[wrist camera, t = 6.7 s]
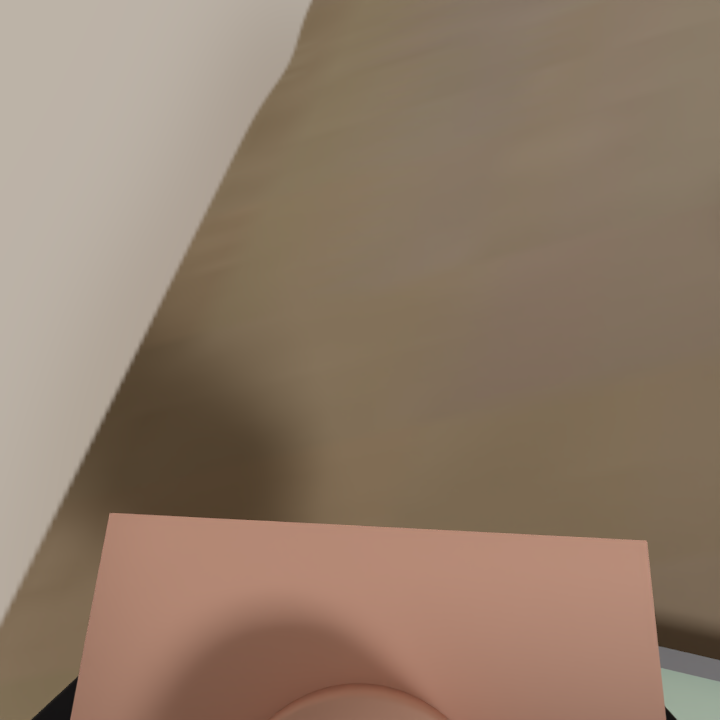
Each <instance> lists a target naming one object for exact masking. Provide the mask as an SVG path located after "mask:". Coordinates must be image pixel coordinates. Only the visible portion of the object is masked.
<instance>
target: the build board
mask: <svg viewBox="0 0 720 720" xmlns="http://www.w3.org/2000/svg"><path fill="white" fill-rule="evenodd" d="M658 648H659V657H660V666H661V676H662V685H663V694H664V704H665V707H666V708H667V709H668V710H669V711H670V712H671V713H672V714H673V716H674V717H675V718H676V719H677V720H720V660H717V659H712V658H708V657H704V656H699V655H695V654H691V653H686V652H682V651H678V650H673V649H669V648H665V647H661V646H658Z"/></svg>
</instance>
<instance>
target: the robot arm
mask: <svg viewBox="0 0 720 720" xmlns="http://www.w3.org/2000/svg"><path fill="white" fill-rule="evenodd" d="M77 681H78V677H77V678H76V679H75V680H74V681H72V682H71V683H70V684H69V685H68V686H67V687H66V688H65V689H64V690H63V691H62V692H61V693H60V694H58V695H57V696H56V697H55V698H54V699H53V700H52V701H51V702H50V703H49V704H48V705H47V706H46V707H44V708H43V709H42V710H41V711H40V712H39V713H38V714H37V715H36V716H35V717H34V718H33V719H32V720H70V718H71V713H72V708H73V702H74V697H75V692H76V687H77ZM665 713H666V720H677V719H676V718H675V717H674V716H673V714H672V713H671V712H670V711H669V710H668V709H667V708H666V707H665Z"/></svg>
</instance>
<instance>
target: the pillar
mask: <svg viewBox="0 0 720 720" xmlns="http://www.w3.org/2000/svg"><path fill="white" fill-rule="evenodd" d="M70 720H666V713H665V704H664V694H663V685H662V676H661V666H660V657H659V648H658V639H657V629H656V620H655V611H654V602H653V592H652V583H651V574H650V564H649V555H648V546H647V541H643V540H624V539H604V538H585V537H566V536H546V535H527V534H508V533H488V532H469V531H450V530H430V529H411V528H392V527H372V526H353V525H334V524H314V523H295V522H276V521H256V520H237V519H218V518H199V517H179V516H160V515H141V514H121V513H110V514H109V519H108V525H107V530H106V535H105V540H104V545H103V551H102V556H101V561H100V566H99V572H98V577H97V582H96V587H95V593H94V598H93V603H92V608H91V613H90V619H89V624H88V629H87V634H86V640H85V645H84V650H83V655H82V661H81V666H80V671H79V676H78V681H77V687H76V692H75V697H74V702H73V708H72V713H71V718H70Z"/></svg>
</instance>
